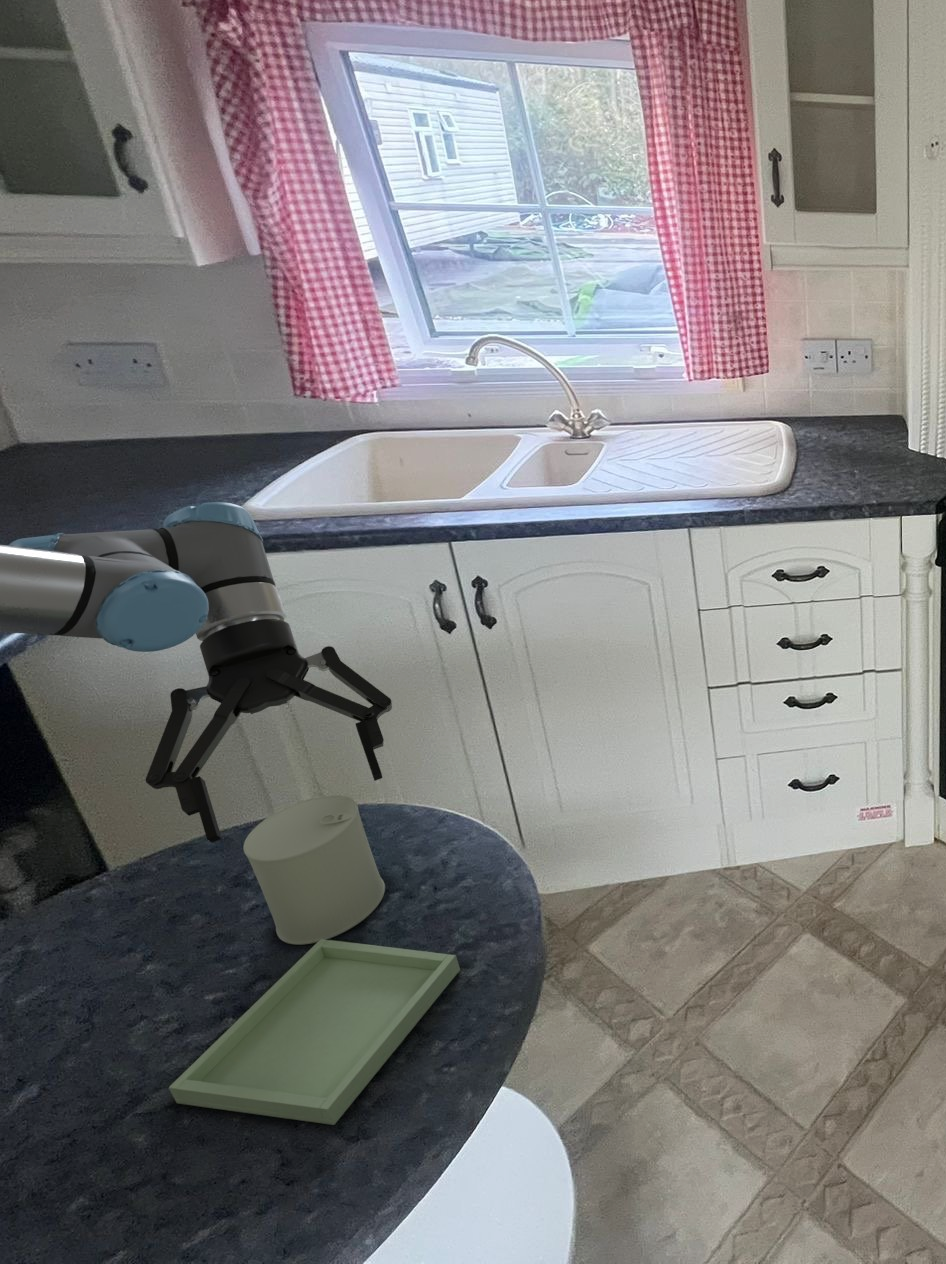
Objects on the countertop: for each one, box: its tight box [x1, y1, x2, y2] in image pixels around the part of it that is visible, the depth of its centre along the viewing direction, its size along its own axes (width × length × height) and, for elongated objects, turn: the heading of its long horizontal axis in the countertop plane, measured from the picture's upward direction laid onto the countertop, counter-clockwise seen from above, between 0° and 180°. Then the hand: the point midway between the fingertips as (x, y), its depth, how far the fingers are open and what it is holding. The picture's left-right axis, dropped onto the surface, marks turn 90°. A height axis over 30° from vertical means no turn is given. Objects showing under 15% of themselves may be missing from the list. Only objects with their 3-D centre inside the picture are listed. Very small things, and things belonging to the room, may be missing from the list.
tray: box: [168, 939, 461, 1126], centre depth 76 cm, size 15×15×2 cm
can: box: [242, 794, 386, 946], centre depth 86 cm, size 9×9×12 cm
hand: (300, 806), depth 88 cm, fingers open, 13 cm apart
